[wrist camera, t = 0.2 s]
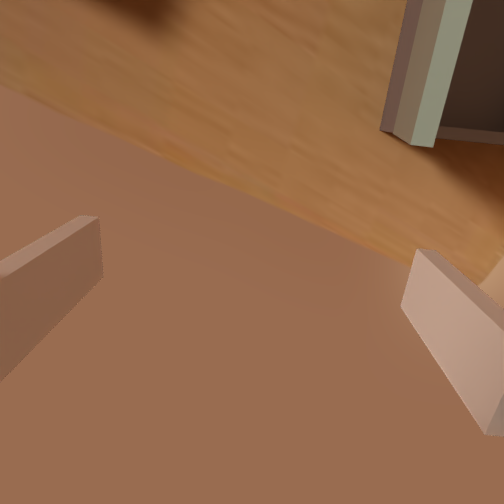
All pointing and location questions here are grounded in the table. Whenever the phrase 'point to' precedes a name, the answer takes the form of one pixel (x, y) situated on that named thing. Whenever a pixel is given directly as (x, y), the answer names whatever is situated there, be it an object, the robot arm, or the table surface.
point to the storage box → (461, 76)
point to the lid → (430, 69)
